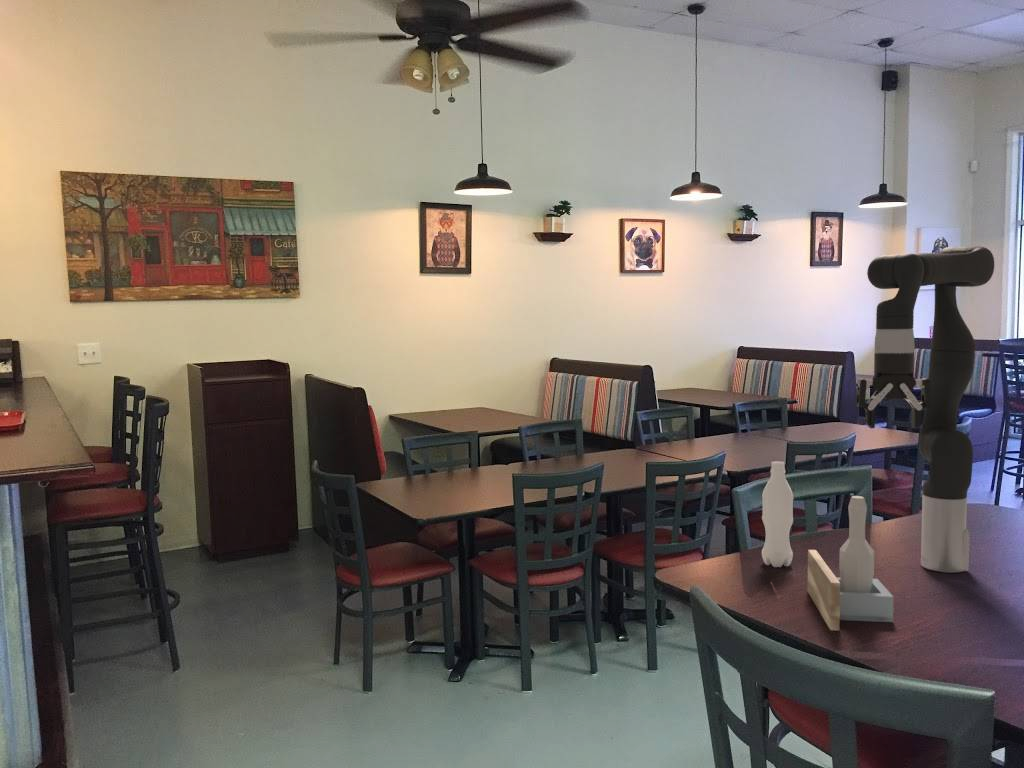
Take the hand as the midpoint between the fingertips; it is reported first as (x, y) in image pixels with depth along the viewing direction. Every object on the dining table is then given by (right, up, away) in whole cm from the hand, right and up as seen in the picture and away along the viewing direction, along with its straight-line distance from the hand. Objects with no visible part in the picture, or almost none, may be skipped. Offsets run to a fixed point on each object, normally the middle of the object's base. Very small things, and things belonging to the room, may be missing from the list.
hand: (892, 427), depth 170 cm
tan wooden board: (-7, -37, -9) cm, 39 cm away
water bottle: (-16, -35, +26) cm, 46 cm away
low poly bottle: (-11, -35, -8) cm, 38 cm away
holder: (-11, -36, -8) cm, 39 cm away
